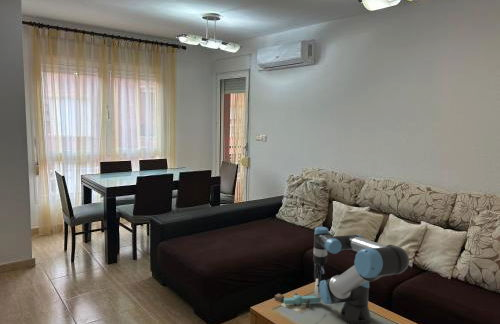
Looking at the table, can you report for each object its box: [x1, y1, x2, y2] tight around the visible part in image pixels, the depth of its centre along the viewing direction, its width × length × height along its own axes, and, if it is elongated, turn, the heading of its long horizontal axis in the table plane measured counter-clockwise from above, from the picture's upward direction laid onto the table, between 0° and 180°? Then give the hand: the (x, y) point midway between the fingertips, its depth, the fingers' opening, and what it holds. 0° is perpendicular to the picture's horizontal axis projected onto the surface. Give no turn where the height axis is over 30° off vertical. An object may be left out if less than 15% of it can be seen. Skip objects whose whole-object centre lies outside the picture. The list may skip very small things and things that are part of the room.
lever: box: [283, 278, 322, 305], centre depth 201 cm, size 5×21×13 cm, turn 98°
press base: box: [280, 292, 313, 314], centre depth 201 cm, size 14×11×5 cm
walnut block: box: [274, 293, 285, 303], centre depth 207 cm, size 4×4×4 cm
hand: (318, 294), depth 203 cm, fingers closed on lever, 3 cm apart
